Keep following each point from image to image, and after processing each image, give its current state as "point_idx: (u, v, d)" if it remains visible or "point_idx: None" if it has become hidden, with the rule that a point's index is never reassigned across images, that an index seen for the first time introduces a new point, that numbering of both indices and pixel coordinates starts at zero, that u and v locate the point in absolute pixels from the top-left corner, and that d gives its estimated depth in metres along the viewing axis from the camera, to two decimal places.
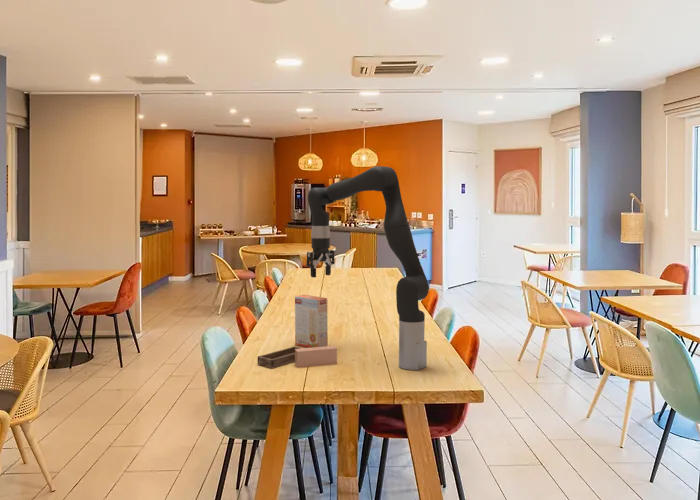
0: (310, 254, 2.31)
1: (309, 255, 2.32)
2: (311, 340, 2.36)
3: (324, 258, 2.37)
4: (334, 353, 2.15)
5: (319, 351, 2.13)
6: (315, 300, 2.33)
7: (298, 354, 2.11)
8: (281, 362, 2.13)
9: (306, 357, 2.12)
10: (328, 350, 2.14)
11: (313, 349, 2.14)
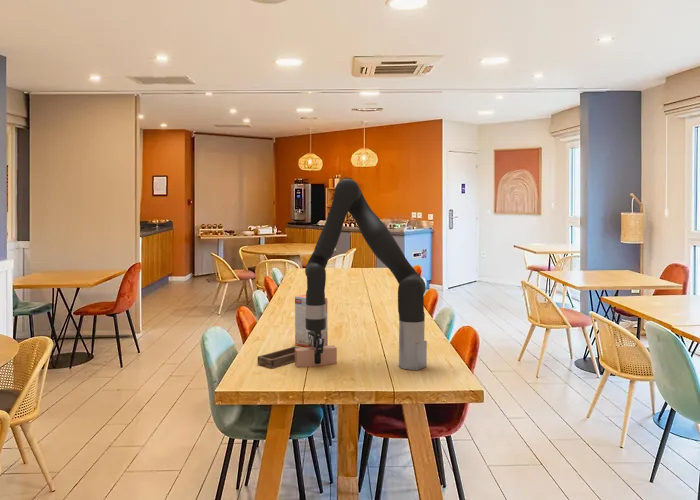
0: (322, 341, 2.08)
1: (321, 342, 2.08)
2: None
3: None
4: (334, 352, 2.15)
5: None
6: None
7: (298, 353, 2.11)
8: (281, 362, 2.13)
9: (306, 357, 2.12)
10: (328, 350, 2.14)
11: (313, 348, 2.14)
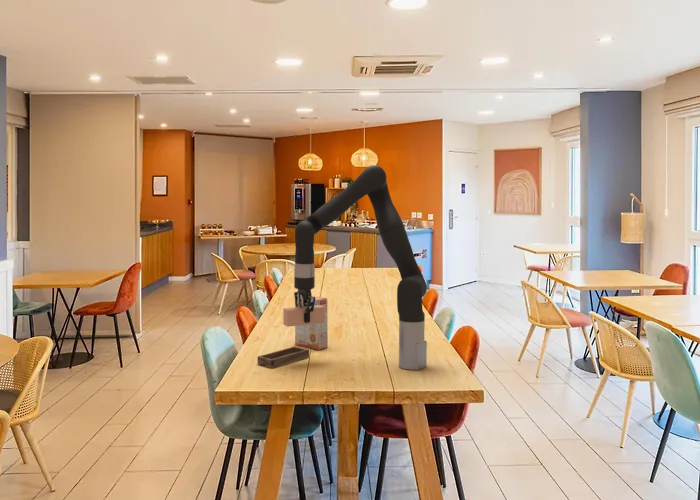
0: (314, 299, 2.09)
1: (312, 301, 2.09)
2: (311, 340, 2.36)
3: None
4: (323, 312, 2.16)
5: None
6: (315, 300, 2.33)
7: (288, 313, 2.09)
8: (281, 362, 2.13)
9: (296, 316, 2.11)
10: (317, 309, 2.15)
11: (302, 308, 2.13)
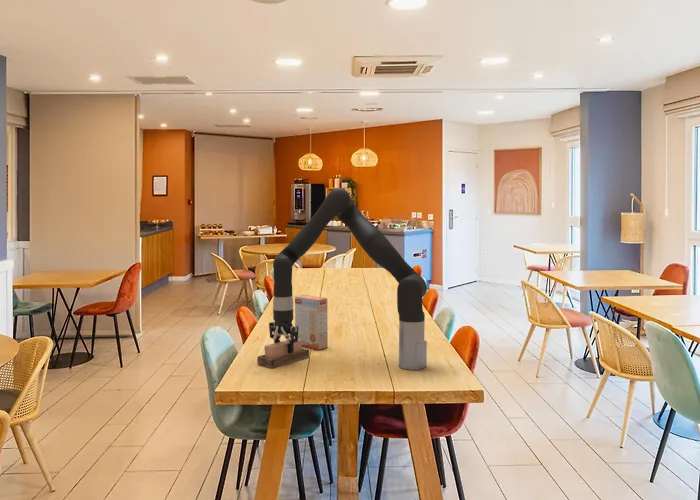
0: (297, 329, 2.14)
1: (296, 330, 2.14)
2: (311, 340, 2.36)
3: None
4: (300, 344, 2.23)
5: None
6: (315, 300, 2.33)
7: (273, 350, 2.12)
8: (281, 362, 2.13)
9: (279, 352, 2.15)
10: (295, 342, 2.21)
11: (282, 343, 2.17)
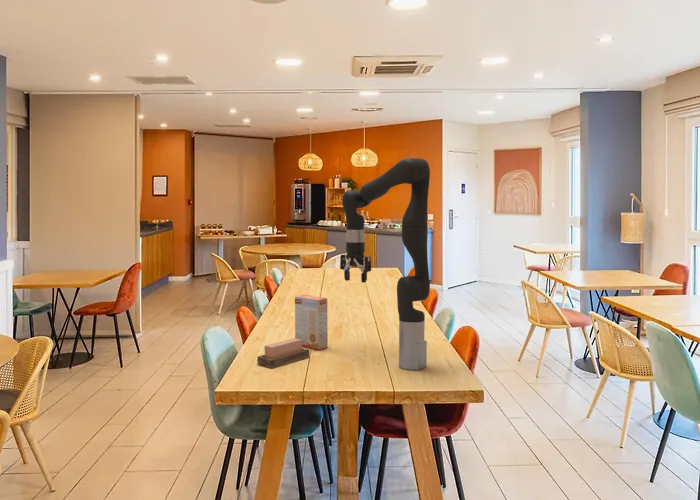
0: (369, 258, 2.27)
1: (369, 259, 2.26)
2: (311, 340, 2.36)
3: None
4: (300, 344, 2.23)
5: (288, 344, 2.18)
6: (315, 300, 2.33)
7: (273, 350, 2.12)
8: (281, 362, 2.13)
9: (279, 352, 2.15)
10: (295, 342, 2.21)
11: (282, 343, 2.17)
